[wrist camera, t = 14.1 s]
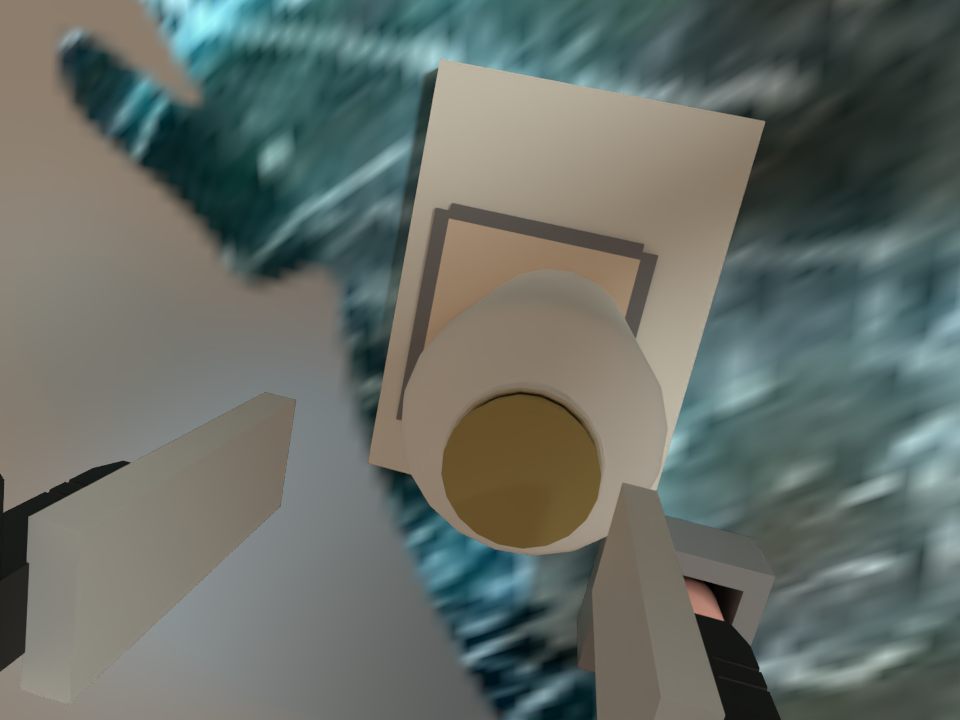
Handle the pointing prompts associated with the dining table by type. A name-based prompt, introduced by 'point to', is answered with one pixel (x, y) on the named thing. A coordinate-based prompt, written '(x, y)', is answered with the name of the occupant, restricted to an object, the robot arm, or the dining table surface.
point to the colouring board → (566, 216)
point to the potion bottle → (534, 415)
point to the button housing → (705, 558)
